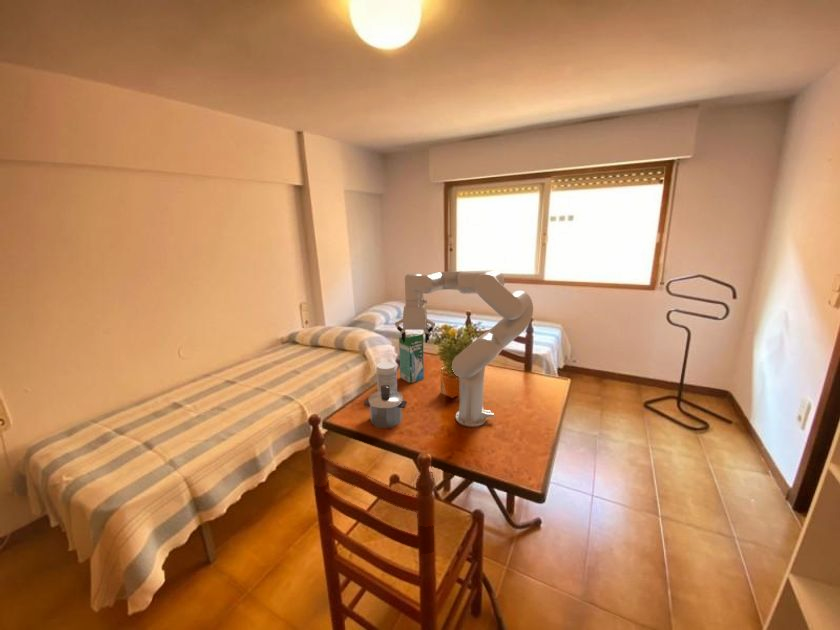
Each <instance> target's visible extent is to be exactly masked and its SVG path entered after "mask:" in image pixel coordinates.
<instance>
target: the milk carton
mask: <svg viewBox="0 0 840 630" xmlns="http://www.w3.org/2000/svg"><path fill="white" fill-rule="evenodd" d="M398 344H399V345H398V346H399V377H400V379H401V380H404V381H405V382H407V383H409V384H413V383H415V382H419V381H422V380H424V377H425V376H424V373H425V372H424V370H425V369H424V367H425V365H424V363H425V362H424V360H425V359H424V333H413V332H408V333H406V341H405V342H403V340H402V336H400V337H399V338H398Z"/></svg>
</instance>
